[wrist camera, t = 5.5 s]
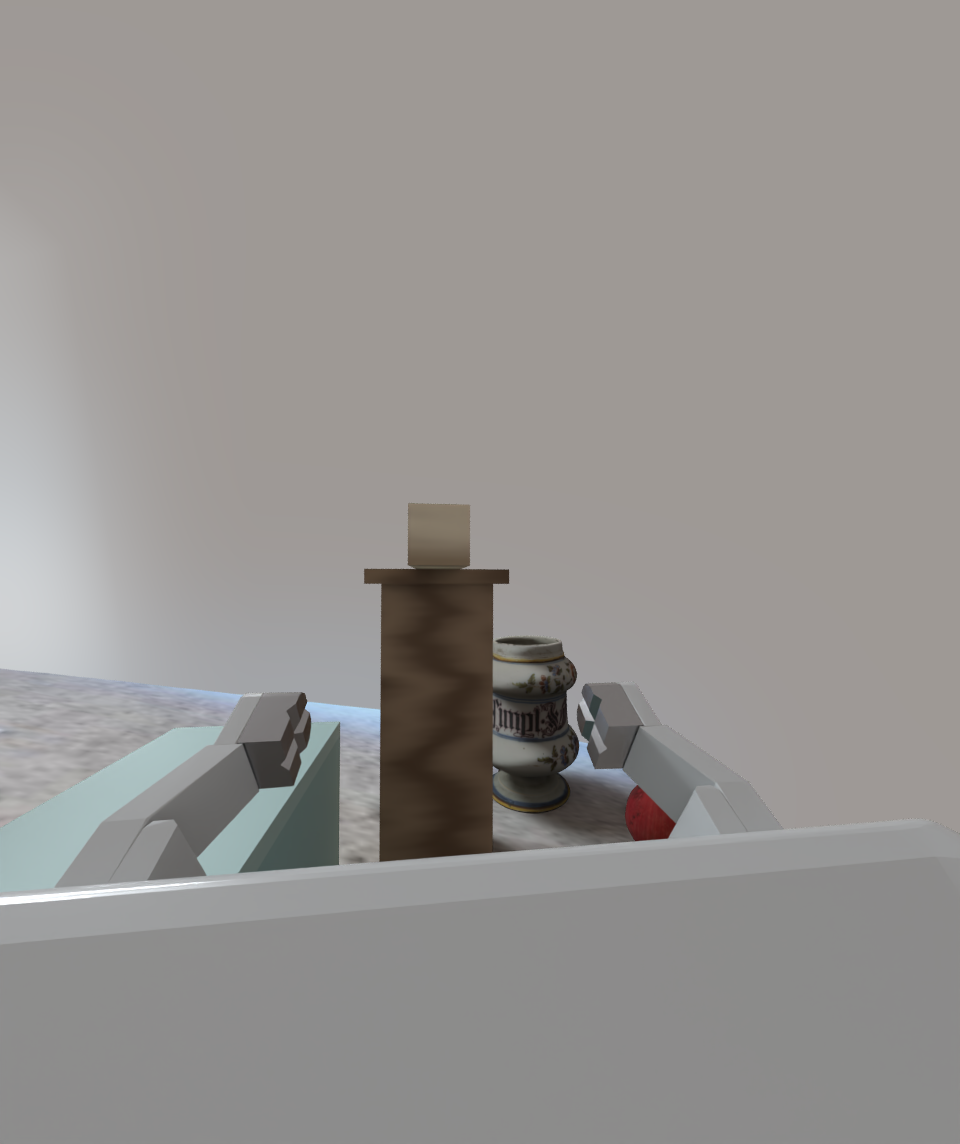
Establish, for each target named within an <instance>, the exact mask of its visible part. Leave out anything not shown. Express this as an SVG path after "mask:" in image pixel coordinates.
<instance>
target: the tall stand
mask: <svg viewBox="0 0 960 1144" xmlns="http://www.w3.org/2000/svg"><path fill="white" fill-rule="evenodd" d="M364 583H366V584H367V583H368V584H371V583H372V584H375V583H376V584H379V583H380V584H382V585H381V586H382V588H381V589H382V590H381V591H382V592H381V593H382V594H381V724H380V862H384V861H396V860H409V859H421V858H434V857H446V856H459V855H471V854H484V853H492V851H493V584H509V570H485V569H483V570H482V569H476V570H475V569H473V570H472V569H364Z"/></svg>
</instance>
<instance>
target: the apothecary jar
mask: <svg viewBox="0 0 960 1144" xmlns="http://www.w3.org/2000/svg"><path fill="white" fill-rule="evenodd" d="M576 678H577V672H576V669H575V666H574V665H573V663H572V662H571V661H570V660H569V659H568V658H566V657H565V656H564V652H563V650H562V642H561V640H559V639H556V638H551V637H543V636H509V637H501V638H497V639H494V640H493V766H494V767H495V768H497V769H499V771H498V773H496V774H493V799H494V800H495V801H496V802H498V803H499V804H501V805H503V806H505V807H507V808H510V809H512V810H517V811H522V812H545V811H549V810H552V809H555V808H558V807H559V806H561V805H562V804H564V803H565V802H566V800H567V799H568V797H569V795H570V789H569V785H568V783H567V782H566V780H565V779H564V778H563V777H562V776H561V775H560V774H559V773H558V772H560V771H562V770H564V769H566V768H567V767H568V766H570V765H571V764H572V763H573V762H574V760H575V759H576V757H577V755H578V751H579V741H578V737H577V735H576V733H575V732H574V730H573V729H572V728H571V726H570V725H569V724H568V720H567V719H568V718H567V703H566V701H567V694H566V692H567V690H568V689H570V688H571V687H572V686H573V685H574V683H575V681H576Z"/></svg>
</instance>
